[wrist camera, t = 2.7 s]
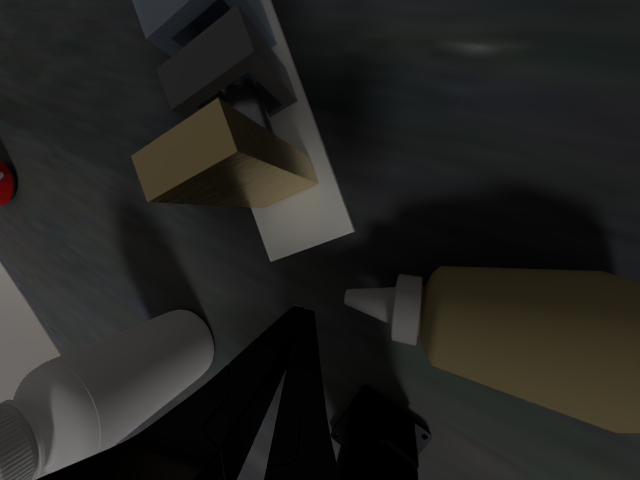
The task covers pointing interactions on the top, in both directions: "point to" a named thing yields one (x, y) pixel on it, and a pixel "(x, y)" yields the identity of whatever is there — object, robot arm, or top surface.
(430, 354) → the squeeze bottle
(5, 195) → the soda can
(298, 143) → the board
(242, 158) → the tube
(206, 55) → the sleeve
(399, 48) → the top surface
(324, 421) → the robot arm
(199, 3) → the socket
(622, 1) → the top surface
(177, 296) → the top surface
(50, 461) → the pill bottle
